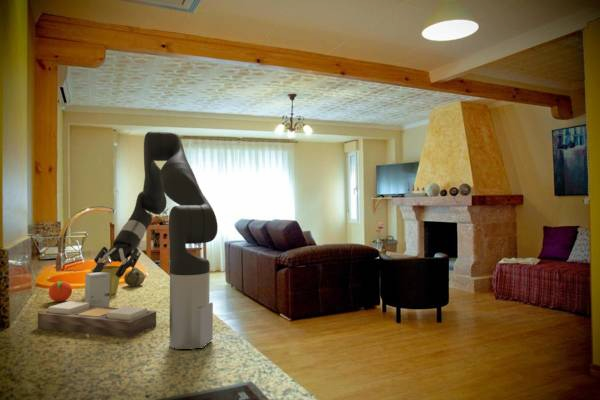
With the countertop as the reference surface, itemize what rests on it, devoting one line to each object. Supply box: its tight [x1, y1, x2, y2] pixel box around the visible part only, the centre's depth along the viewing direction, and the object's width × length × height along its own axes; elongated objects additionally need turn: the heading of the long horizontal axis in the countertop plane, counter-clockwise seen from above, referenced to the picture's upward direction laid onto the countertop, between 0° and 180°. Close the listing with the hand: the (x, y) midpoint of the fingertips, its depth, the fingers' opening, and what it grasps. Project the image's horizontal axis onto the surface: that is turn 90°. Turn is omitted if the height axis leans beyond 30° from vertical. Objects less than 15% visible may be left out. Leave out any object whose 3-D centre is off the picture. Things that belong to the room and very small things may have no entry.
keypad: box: [37, 305, 157, 339], centre depth 114 cm, size 29×11×4 cm, turn 74°
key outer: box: [48, 300, 89, 314], centre depth 116 cm, size 7×7×2 cm
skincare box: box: [84, 272, 110, 307], centre depth 129 cm, size 6×4×12 cm
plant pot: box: [90, 264, 121, 296], centre depth 155 cm, size 10×10×10 cm
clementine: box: [48, 280, 73, 303], centre depth 142 cm, size 8×7×7 cm
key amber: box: [77, 308, 114, 317], centre depth 114 cm, size 7×7×2 cm
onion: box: [123, 266, 146, 287], centre depth 170 cm, size 8×8×8 cm
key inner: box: [107, 305, 148, 320], centre depth 111 cm, size 7×7×2 cm
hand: (106, 275), depth 133 cm, fingers open, 8 cm apart
